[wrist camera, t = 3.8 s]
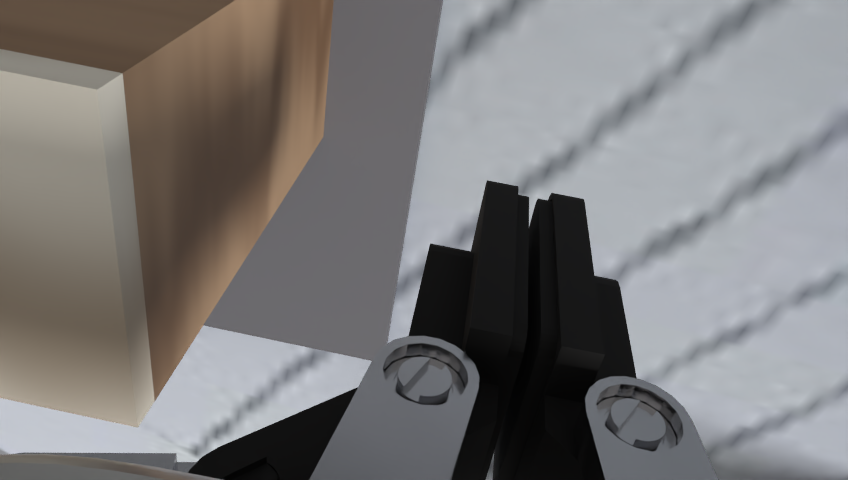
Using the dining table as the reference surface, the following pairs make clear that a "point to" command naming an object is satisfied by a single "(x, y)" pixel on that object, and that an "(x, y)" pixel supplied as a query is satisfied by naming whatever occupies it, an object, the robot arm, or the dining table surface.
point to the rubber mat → (345, 192)
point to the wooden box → (140, 180)
